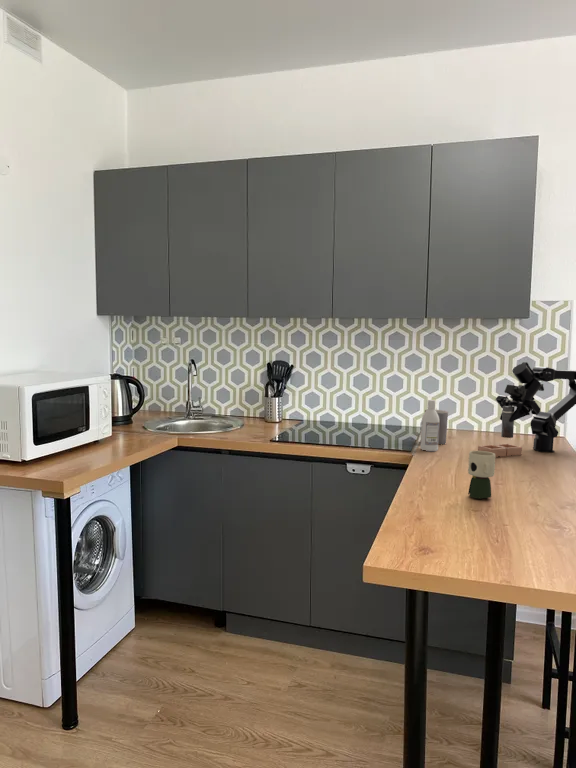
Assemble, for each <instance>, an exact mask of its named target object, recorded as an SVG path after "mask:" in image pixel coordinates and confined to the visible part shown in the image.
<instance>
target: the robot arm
mask: <svg viewBox="0 0 576 768" xmlns="http://www.w3.org/2000/svg"><path fill="white" fill-rule="evenodd" d="M511 372H512V373H513V375H514V377H515V378H516V379H517V381H518V382H519V383H520V384H519V385H512V384H506V386H505V389H504V391H503V392H504V393H505V394H507V395H509V397H508V396H507V395H497V397H495V401H496V402H497V404H498V405H499V406H500V408H502V409H503V406H514V407H515V408H516V409H515V410H514V411H515V412H514V413H513V415H512V416H511V418H510V419H509V421H510V422H513V421H514V422H515V421H518V420H519V419H522V418H524V417H526V416H530V415H531V414H532V415H533V416H532V419H531V420H530V430H531V434H533V435H534V436H535V437H534V438H533V445H532V446H533V447H532V449H534V451H537V452H543V453H544V452H545V453H546V452H547V453H555V450H554V441H555V440H554V439H555V438H557V437H558V435H559V431H558V429H557V428H556V426H557V421H558V420H560V419H561V417H563V416H564V415H566V413H567V412H569V411H570V410H571V409H572V408H573V407H575V406H576V370H575V369H569V370H567V369H566V370H565V369H555V368H552V367H548V366H537V365H536V366H533V367H532V368H531V367H530V364H529V363H528V362H527V361H522V363H520V364H517V365H516V366H514V367H513V369H512V371H511ZM554 380H568V387H569V390H568V394H567V395H565V396H564V397H563V398H562V399H561V400H560V401H558V402H557V403H555V405H554V406H553V407H552V408H550V409H549V410H548V411H547V412H545V411H541V407H540V406H539V404H538V402H537V401H535V398H534V397H535V396H536V394H537V393H538V391H540V392H541V391H542V392H544V391H545V387H544V384H543V383H541V382H547V383H548V382H551V381H554ZM521 384H523V385H521ZM509 398H510V399H509ZM499 419H500V421H502V412H501V414H500V417H499Z"/></svg>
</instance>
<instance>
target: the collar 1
mask: <svg viewBox="0 0 576 768" xmlns="http://www.w3.org/2000/svg"><path fill="white" fill-rule="evenodd" d="M506 449H507V448H503V447H499V446H496V444H484V445H478V446H477V451H487V452H492V453H494V454H495V458H498V456H500V457H507V456H506Z"/></svg>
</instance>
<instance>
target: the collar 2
mask: <svg viewBox="0 0 576 768" xmlns="http://www.w3.org/2000/svg"><path fill="white" fill-rule="evenodd" d="M495 445H496V446H499V447H503V448H507V449H506V456H505V457H509V456H511V455H512V456H521V455H522V453H523V452H522V449H523V447H522V446H519V445H516V444H510V443H499V444H495ZM512 456H511V457H512Z"/></svg>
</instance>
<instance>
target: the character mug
mask: <svg viewBox="0 0 576 768" xmlns="http://www.w3.org/2000/svg"><path fill="white" fill-rule="evenodd" d="M495 465H496V457H495V454H494V453H492V452H487V451H478V450H469V452H468V467H467V472H468V473H467V474H468V475H470V476H472V477H471V479H470V482H469V487H468V495H467V496H469V497H470V498H474V499H480V500H483V499H489V498H492V484H491V483H492V482H491V479H490V478H493V477H494V476H495V470H496V469H495V467H496V466H495Z"/></svg>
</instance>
